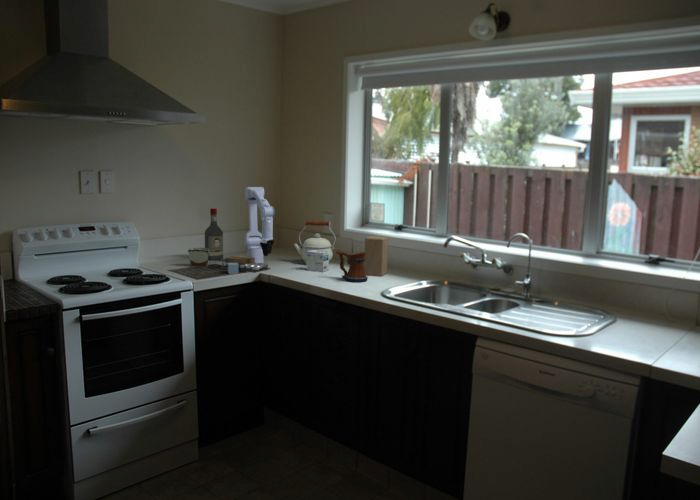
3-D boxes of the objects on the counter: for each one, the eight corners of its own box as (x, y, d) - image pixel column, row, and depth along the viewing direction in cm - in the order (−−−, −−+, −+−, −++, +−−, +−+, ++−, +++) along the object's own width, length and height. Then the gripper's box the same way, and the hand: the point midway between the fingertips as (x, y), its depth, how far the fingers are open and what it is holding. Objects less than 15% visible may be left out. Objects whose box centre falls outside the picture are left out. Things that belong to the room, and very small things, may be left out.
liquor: (203, 258, 350) (203, 208, 345) (218, 257, 355) (217, 207, 351) (210, 261, 343) (209, 209, 338) (224, 259, 348) (224, 209, 343)
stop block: (227, 272, 312) (228, 274, 306) (227, 262, 311) (228, 264, 306) (237, 271, 313) (238, 273, 308) (237, 262, 313) (238, 264, 307)
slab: (237, 259, 332) (237, 255, 331) (254, 261, 326) (254, 257, 326) (225, 262, 323) (225, 257, 323) (243, 264, 318) (243, 259, 317)
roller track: (235, 264, 334) (235, 259, 334) (269, 268, 323) (269, 263, 322) (220, 267, 323) (220, 262, 322) (255, 272, 311) (255, 267, 311)
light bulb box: (329, 270, 323) (329, 251, 322) (323, 272, 317) (323, 252, 316) (311, 268, 328) (312, 249, 326) (306, 270, 322) (306, 250, 320)
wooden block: (386, 273, 319) (388, 236, 316) (381, 276, 309) (383, 239, 306) (369, 271, 322) (370, 235, 319) (363, 275, 313) (364, 237, 310)
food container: (213, 265, 329) (213, 247, 327) (209, 267, 323) (209, 249, 321) (191, 264, 330) (191, 246, 329) (187, 266, 324) (187, 248, 322)
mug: (330, 278, 300) (330, 250, 298) (342, 275, 310) (343, 247, 308) (359, 283, 291) (360, 253, 288) (371, 280, 300) (372, 251, 298)
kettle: (338, 261, 350) (339, 220, 347) (331, 267, 333) (332, 223, 329) (297, 259, 355) (298, 218, 351) (289, 264, 337) (289, 221, 333)
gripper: (262, 227, 320) (262, 252, 322) (256, 230, 305) (256, 256, 307) (275, 228, 319) (275, 252, 321) (270, 231, 305) (269, 257, 307)
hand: (267, 254), depth 314 cm, fingers open, 7 cm apart
